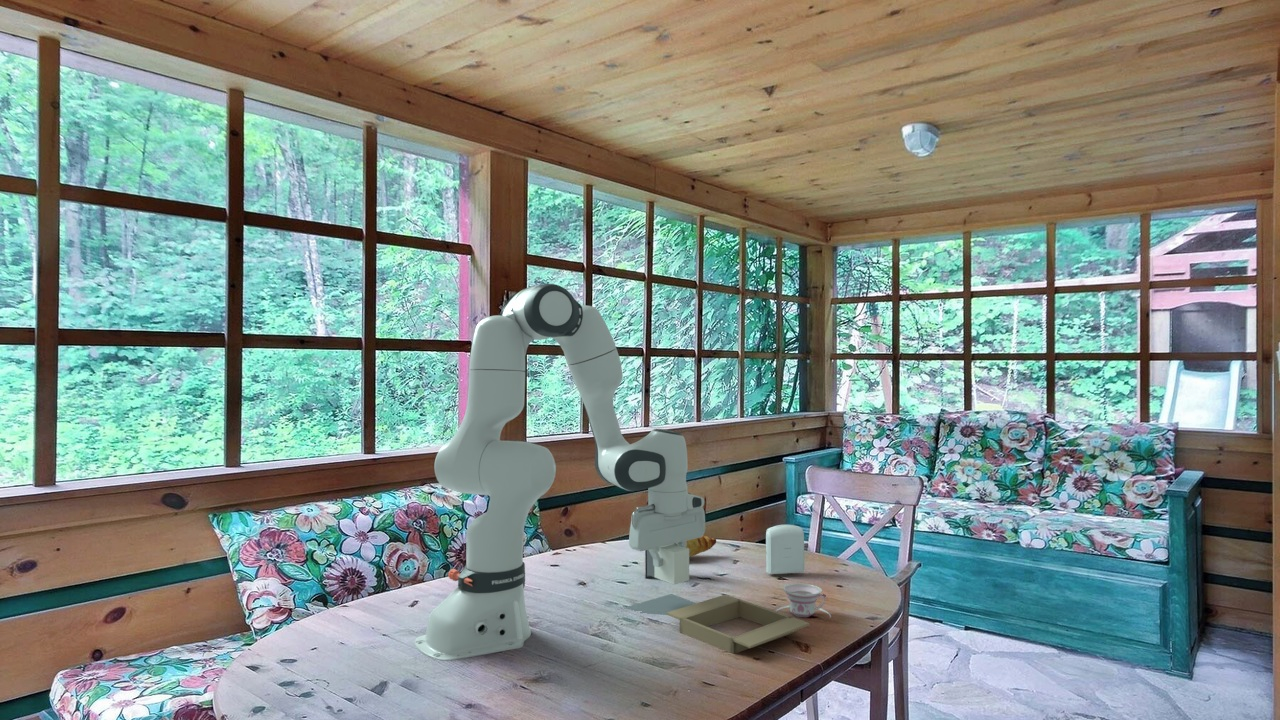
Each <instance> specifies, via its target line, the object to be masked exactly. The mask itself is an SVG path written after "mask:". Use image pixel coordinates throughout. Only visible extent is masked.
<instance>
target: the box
mask: <svg viewBox="0 0 1280 720" xmlns="http://www.w3.org/2000/svg"><path fill="white" fill-rule="evenodd" d="M658 554H659V556H660V558H663V566H660V567H655V566H654V565H653V558H652V556H651V554H650V552H649V550H647V575H649V576H652V577H655V578H658V579H657V580H661V581H664V582H667V583H669V584H672V585H677V584H680V583H683V582H688V581H690V557H689V548H685V547H682V546H679V545H675V544H670V545H666V546H662V547H660V551H659V552H658Z"/></svg>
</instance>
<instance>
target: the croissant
mask: <svg viewBox="0 0 1280 720" xmlns="http://www.w3.org/2000/svg"><path fill="white" fill-rule="evenodd" d="M716 543H717V539H716V538H715V537H709V536H707V535H703V536H702V537H700V538H696V539H692V540H687V546H686V548H689V558H690V557H694V556H696V555H698V554H701V553H704V552H706V551H708V550H710V549H712V548H713V547H714V546H715V545H716Z"/></svg>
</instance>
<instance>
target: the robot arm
mask: <svg viewBox="0 0 1280 720" xmlns="http://www.w3.org/2000/svg"><path fill="white" fill-rule="evenodd" d="M550 338H551V339H553V340H555V341H556V342H557V344H559V347H560V348H561V350H562V351H563V354H564V359H565V360H566V364H567V367H568V370H569V372H570V374H571V377H572V380H573V381H574V384H575V387H576V389H577V391H578V393H579V395H580V398H581V400H582V403H583V404H584V405H583V406H584V409H585V412H586V416H587V420H588V423H589V425H590V429H591V433H592V436H593V439H594V443H595V452H594V453H595V454H594V455H595V456H594V466H595V470H596V473H597V475H598V476H599V478H601V480H602V481H603V482H605V483H607V484H609V485H613V486H616V487H618V488H620V489H623V490H625V491H628V492H637V491H639V492H640V491H641V490H642V491H643V490H646V489H648V490H647V494H648V495H647V499H648V500H647V504H648V505H644V506H638V507H636V508H635V510H634V511H633V512H632V513H631V519H630V520H631V521H630V527H629V535H628V537H629V538H628V544H629V547H630V548H631V549H632V550H635V551H638V552H645V550H649V552H650V554H651V556H652V558H653V565H654V566H655V567H660V566H663V558H660V556H659V554H658V552H659V551H660V547H662V546H666V545H670V544H675V543H676V544H677V545H679V546H682V547H685V548H686V546H687V540H692V539H696V538H700V537H702V536H704V534H705V532H706V514H705V509H704V508H703V507H704V506H705V498H704V497H702V496H699V495H695V494H692V493H690V492H688V489H689V488H688V483H687V472H688V467H689V466H688V449H687V443H686V439H685V436H683V434H681V433H679V432H678V431H674V430H669V429H661V428H654V429H652V430H651V431H650V432H649V433H648V434H647V435H645V436H644V437H642V438H641V439H639V440H638V441H635V442H633V443H631V444H630V442H628V441H627V440H626V439H625V438H624V436H623V435H622V432H621V428H620V424H619V421H618V418H617V414H616V411H615V407H614V396H615V392H616V391H617V390H618V388H619V387H620V385H621V383H622V380H623V377H624V376H623V368H622V363H621V362H622V361H621V358H620V354H619V353H618V352H619V351H618V349H617V347H616V346H617V345H616V343H615V341H614V339H613V335H612V333H611V332H610V329H609V327H608V325H607V322H606V321H605V320H604V318H603V316H602V314H601V312H600V311H599V310H598V309H597V308H596V307H594V306H592V305H586V304H585V305H583V304H582V305H581V304H580V303H579V302H578V301H577V300H576V299H575V297H574V296H573V295H572V293H570V292H569V291H568V290H567V289H566V288H565V287H563V286H561V285H558V284H554V283H542V284H539V285H532V286H529V287H526V288H523V289H522V290H520V291H519V292H516V293H514V294H513V295H511V296H510V297H509V298H508V300H507V301H506V303H505V304H504V306H503V307H502V309H501V311H500V313H499V314H498V315H491V316H487V317H485V318H483V319H481V320H480V321H479V322H478V324H476V327H475V329H474V333H473V337H472V341H471V348H470V355H469V356H470V358H469V371H468V374H469V375H468V388H467V389H468V392H467V401H466V407H465V408H466V409H465V413H464V416H463V417H462V418H463V419H462V421H461V423H460V425H459V427H458V429H457V431H456V432H455V434H454V435H453V436H452V437H451V439H450V440H448V441H447V442H446V443H445V444H443V445H442V446H441V447H440V448H439V450H438V451H437V453H436V457H435V460H434V466H433V467H434V474H435V475H434V476H435V478H436V480H437V482H438V483H439V484H440V486H441V487H444V488H445V489H449V490H450V491H453V492H457V493H460V494H466V495H467V494H468V495H481V496H482V495H483V496H489V504H488V507H487V511H486V512H484V513H483V514H481V515H479V516H477V517H476V518H475V519H473V520H472V521H470V524H469V525H468V526H467V529H466V532H465V533H466V536H465V538H466V539H465V540H466V541H465V542H466V543H465V544H466V547H465V548H466V549H465V551H466V552H465V553H466V554H465V555H466V557H465V558H466V563H465V565H464V567H463V570H462V571H461V572H460V571H459V570H457V569H456V568H450V570H449V572H448V574H447V577H448V578H449V579H450V580H452V582H453V581H454V582H457V587H455V589H454V590H453V591H452V592H451V593H449V595H448V596H447V597H445V599H443V600H442V602H440V603H439V604H438V605H437V606H436V607H435V608H433V610H432V611H431V612H430V614H429V616H428V619H427V624H426V631H425V634H423V635H420V636H418V637H416V638H415V640H414V647H415V649H416V650H417V651H418V652H419V653H421V654H422V655H424V656H425V657H428V658H431V659H434V660H438V661H445V662H448V661H454V660H459V659H465V658H471V657H477V656H482V655H489V654H494V653H498V652H504V651H509V650H510V651H511V650H517V649H521V648H522V647H523V646H524V644H525V641H526V640H528V638H530V637H531V636H532V635H531V634H532V629H531V627H530V624H529V619H528V614H527V608H526V603H525V602H526V601H525V592H524V589H525V585H526V564H525V562H524V561H523V560H524V559H523V557H524V555H523V553H524V534H525V533H524V532H525V525H526V521H527V517H528V515H529V513H530V511H531V509H532V507H533V506H534V504H535V503H536V502H537V501H538V500H539V499H540V498H541V497H542V496H544V495H545V494H546V493H547V492H548V491H549V490H550V489H551V487H552V485H553V483H554V481H555V478H556V473H557V466H556V461H555V458H554V456H553V454H552V452H551V451H550V450H549V448H547V447H546V446H542V445H539V444H537V443H533V442H532V443H531V442H529V441H528V442H527V441H521V440H501V434H502V431H503V428H504V427H505V425H506V424H507V423H508V422H510V421H512V420H514V419H516V417H518V416H519V415H520V414H521V412H522V411H523V410H524V407H525V397H526V396H525V391H526V389H525V388H526V355H527V350H528V347H529V346H530V343H531V342H532V341H534V340H537V341H538V340H539V341H541V340H547V339H550Z"/></svg>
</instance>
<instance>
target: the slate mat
mask: <svg viewBox="0 0 1280 720" xmlns="http://www.w3.org/2000/svg"><path fill="white" fill-rule="evenodd" d="M696 603H697V602H695V601H693V600H690V599H688V598H684V597H681V596H679V595H676V594H673V593H670V594H666V595H663V596H659V597H657V598H656V597H655V598H652V599H649V600H646V601H642V602H638V603H635V604H631V605H628V606H625V607H626V608H625V609H628V610H630V609H631V611H633V610H634V611H633V612H636V611H642V612H640V613H639V614H643V613H647V614H646V615H661V616H667V615H666V613H667V612H670V611H673V610H677V609H680V608H683V607H686V606H690V605H693V604H696Z"/></svg>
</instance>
